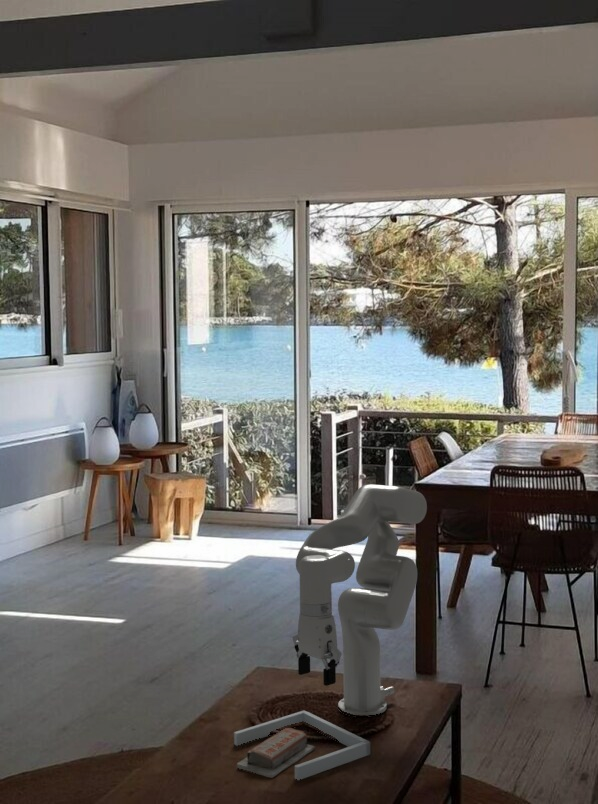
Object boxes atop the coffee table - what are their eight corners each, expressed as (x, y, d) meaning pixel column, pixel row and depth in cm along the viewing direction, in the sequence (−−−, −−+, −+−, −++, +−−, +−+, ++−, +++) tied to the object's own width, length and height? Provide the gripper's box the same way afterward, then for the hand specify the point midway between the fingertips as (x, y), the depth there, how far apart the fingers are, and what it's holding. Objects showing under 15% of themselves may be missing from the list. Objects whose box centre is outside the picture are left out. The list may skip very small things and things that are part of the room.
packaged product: (280, 722, 271) (314, 731, 266) (280, 742, 272) (315, 751, 266) (235, 750, 256) (271, 759, 251) (236, 770, 257) (272, 780, 251)
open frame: (304, 721, 283) (304, 710, 282) (370, 754, 263) (370, 741, 262) (234, 744, 270) (234, 732, 270) (298, 780, 250) (297, 767, 250)
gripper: (351, 613, 261) (352, 685, 263) (306, 598, 275) (307, 666, 276) (326, 619, 257) (327, 692, 258) (281, 603, 270) (282, 672, 272)
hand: (316, 678), depth 267 cm, fingers open, 9 cm apart
